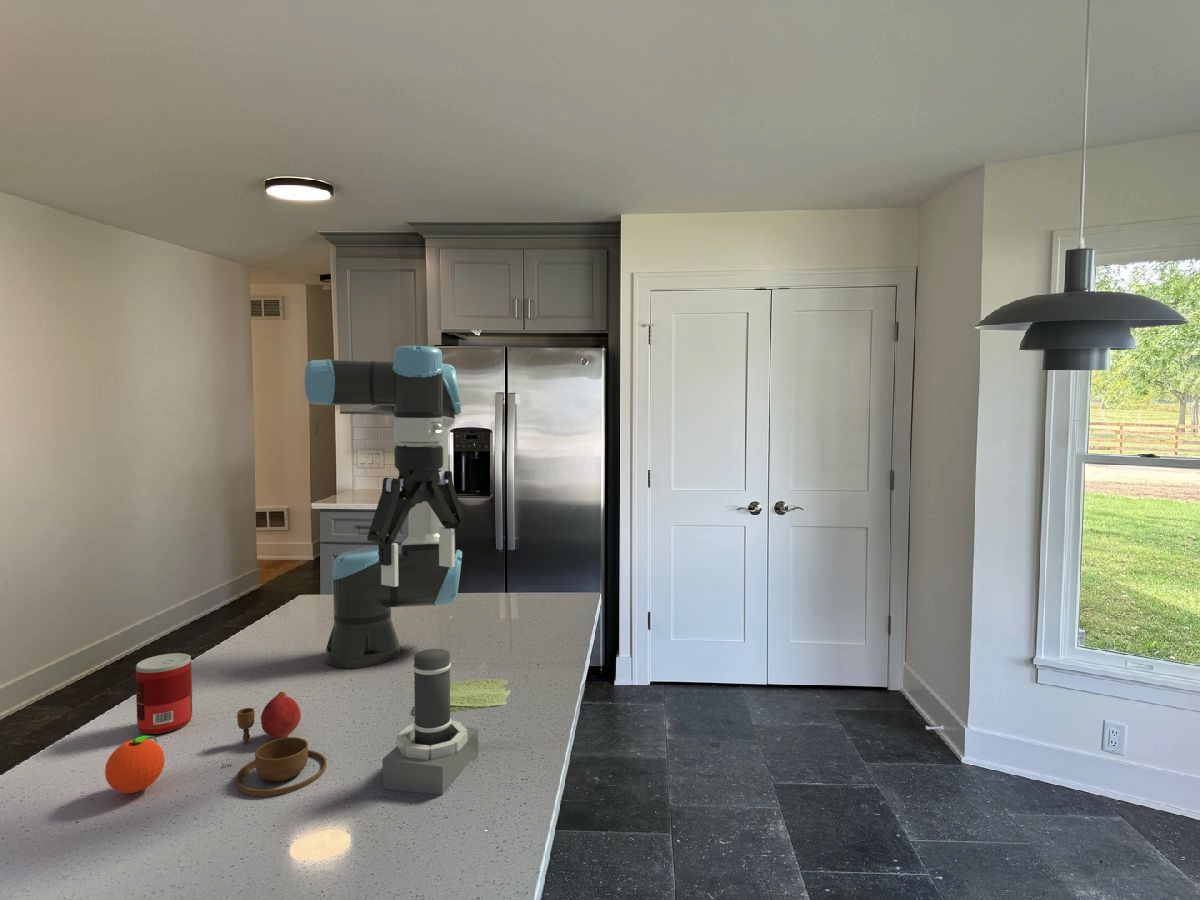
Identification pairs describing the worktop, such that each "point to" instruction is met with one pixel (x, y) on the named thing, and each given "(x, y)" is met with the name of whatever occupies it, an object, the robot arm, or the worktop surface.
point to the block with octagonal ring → (429, 761)
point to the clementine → (134, 765)
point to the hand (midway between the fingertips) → (419, 575)
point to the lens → (432, 696)
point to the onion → (280, 716)
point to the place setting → (275, 760)
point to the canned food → (164, 693)
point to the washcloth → (477, 694)
